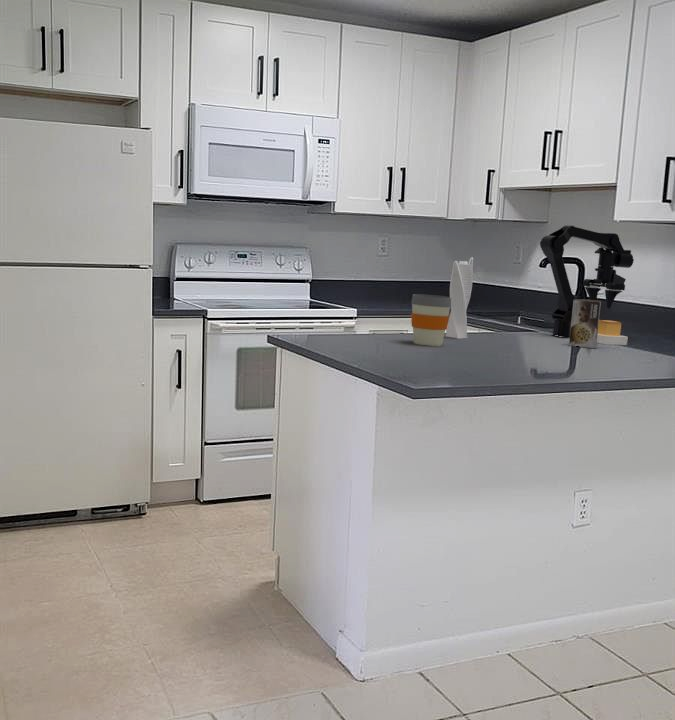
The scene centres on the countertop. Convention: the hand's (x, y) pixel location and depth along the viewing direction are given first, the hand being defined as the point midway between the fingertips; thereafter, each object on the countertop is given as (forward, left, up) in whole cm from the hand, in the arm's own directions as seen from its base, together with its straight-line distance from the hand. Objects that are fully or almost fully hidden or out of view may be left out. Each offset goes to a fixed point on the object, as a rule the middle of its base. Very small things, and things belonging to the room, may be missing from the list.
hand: (600, 307), depth 328 cm
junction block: (-6, -14, -12) cm, 19 cm away
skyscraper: (-68, -14, -12) cm, 71 cm away
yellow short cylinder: (-6, -14, -9) cm, 18 cm away
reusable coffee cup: (-88, -33, -12) cm, 95 cm away
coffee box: (-26, -27, -12) cm, 39 cm away
